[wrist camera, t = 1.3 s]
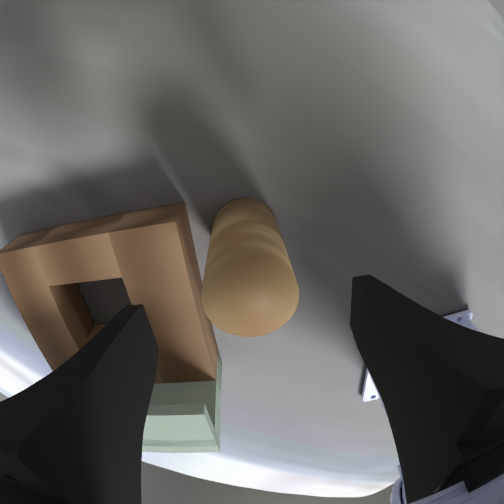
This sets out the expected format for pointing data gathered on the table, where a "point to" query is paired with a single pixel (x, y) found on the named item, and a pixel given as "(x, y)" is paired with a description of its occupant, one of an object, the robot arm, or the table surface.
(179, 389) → the pale green grooved slab
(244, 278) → the peg
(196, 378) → the socket block
